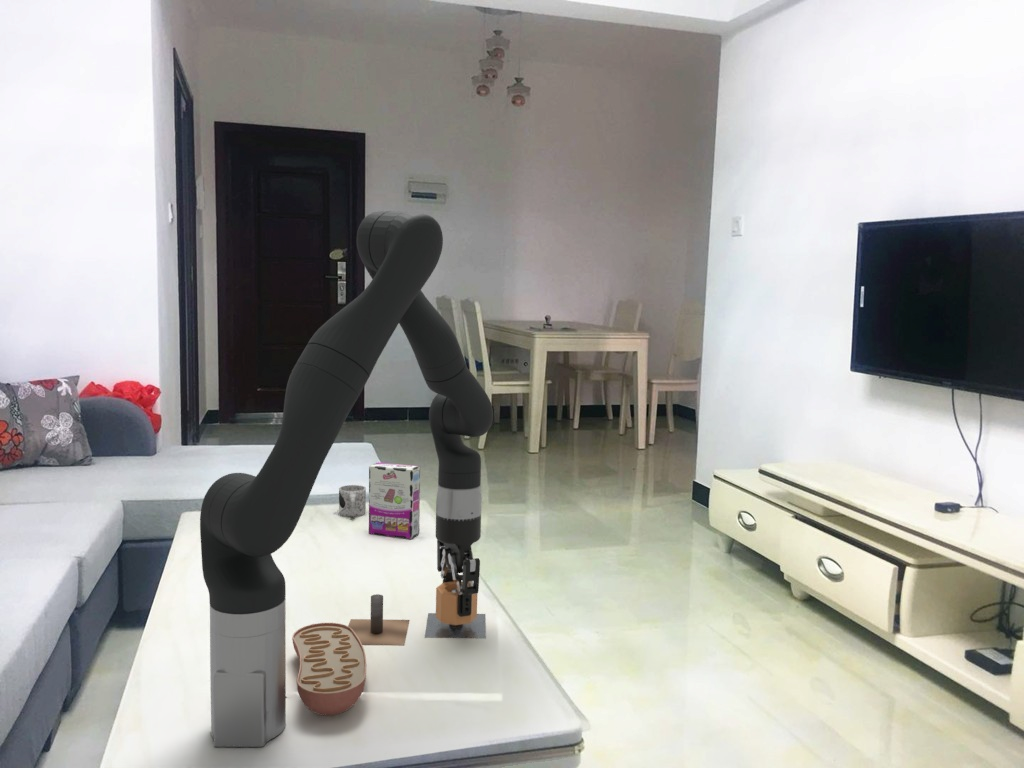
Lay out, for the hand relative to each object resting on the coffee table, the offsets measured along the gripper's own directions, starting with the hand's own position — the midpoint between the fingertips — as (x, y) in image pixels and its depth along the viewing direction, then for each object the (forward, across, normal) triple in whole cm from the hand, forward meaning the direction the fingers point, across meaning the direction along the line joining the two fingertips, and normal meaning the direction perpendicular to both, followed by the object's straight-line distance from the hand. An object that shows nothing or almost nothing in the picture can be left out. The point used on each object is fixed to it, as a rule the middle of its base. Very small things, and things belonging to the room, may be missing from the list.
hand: (456, 607), depth 137 cm
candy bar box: (+4, +56, -6) cm, 56 cm away
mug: (+4, +74, -1) cm, 75 cm away
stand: (+4, +2, +13) cm, 14 cm away
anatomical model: (+5, -11, +24) cm, 27 cm away
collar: (+2, 0, 0) cm, 2 cm away
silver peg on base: (+4, 0, 0) cm, 4 cm away
